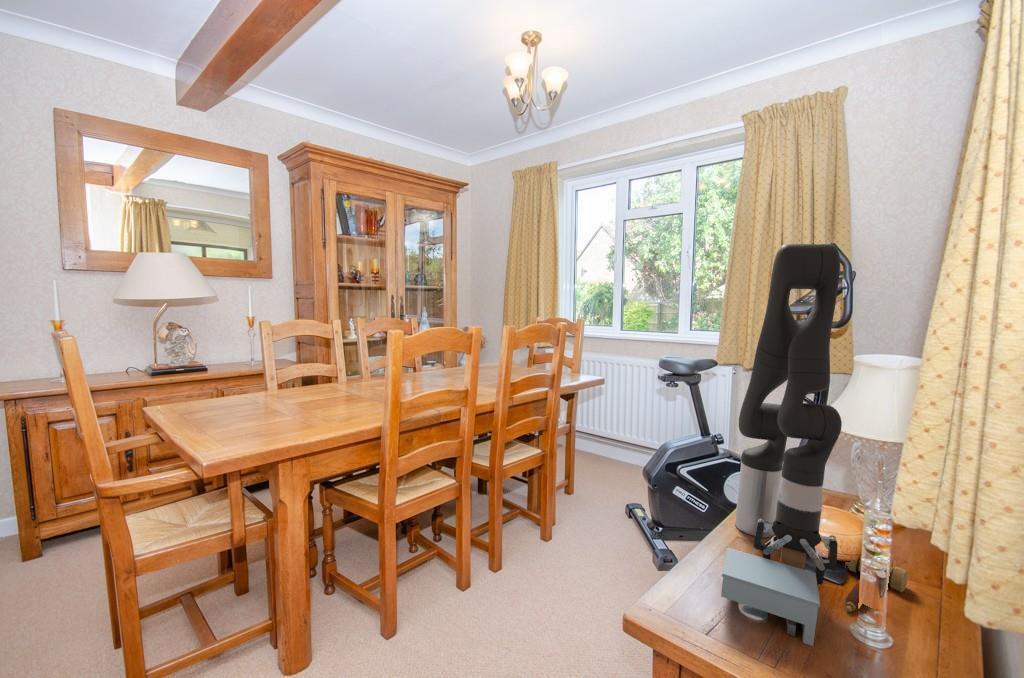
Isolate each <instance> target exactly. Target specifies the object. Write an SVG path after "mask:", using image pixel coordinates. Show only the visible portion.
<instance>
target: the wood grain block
mask: <svg viewBox="0 0 1024 678" xmlns="http://www.w3.org/2000/svg"><path fill="white" fill-rule="evenodd" d="M780 552H781V553H780V558H779V559H780V560H779V563H783V564H786V565H790V566H793V567H797V568H800V569H804V570H806V562H807V555H808V553H807V552H803V551H799V550H796V549H792V548H788V547H785V546H782V547H781V551H780ZM785 619H786V618H785ZM796 628H797V622H795V621H792V620H789V619H786V634H787V635H790V636H793V637H796V630H797V629H796Z"/></svg>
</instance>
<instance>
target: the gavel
mask: <svg viewBox="0 0 1024 678" xmlns="http://www.w3.org/2000/svg"><path fill="white" fill-rule="evenodd" d="M846 565H847V566H848V568H849V570H848V571H851V572H852V573H855V574H857V573H860V572H859V566H860V557H858V559H857V560H855V561H850V562H846V561H845V566H846ZM890 567H891V568H890V576H889V584H888V586H890V588H891V589H893V590H896V591H897V592H900V593H904V592H905V590H906V587H907V583H908V579H909V577H908V576H909V572H908V571H907V570H906V569H903V568H901V567H899V566H895V567H892V566H890ZM858 603H859V580H858V581H857V582H856V583H855V585H854V586H853V588H852V589H851V590H850V592H849V593H848V594H847V596H846V598H845V610H846V611H847V613H851V612H855V611H857V610H859V609H858Z"/></svg>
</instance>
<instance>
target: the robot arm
mask: <svg viewBox="0 0 1024 678" xmlns="http://www.w3.org/2000/svg"><path fill="white" fill-rule="evenodd" d="M840 275H841V257H840V253H839V250H838V248H837V247H836V246H835V245H834V244H830V243H829V244H828V243H788V244H784V245H781V246H780V247H779V249H778V250H777V252H776V254H775V257H774V261H773V266H772V270H771V277H770V278H771V279H770V285H769V290H768V299H767V305H766V311H765V314H764V317H763V318H764V319H763V323H762V326H761V330H760V334H759V337H758V341H757V345H756V350H755V355H754V360H753V367H752V371H751V375H750V380H749V384H748V386H747V389H746V393H745V396H744V398H743V402H742V404H741V408H740V411H739V417H738V429H739V432H740V434H741V435H742V436H744V437H745V438H750V439H753V440H754V439H755V440H756V439H758V440H763V441H765V442H764V443H763V444H759V445H758V446H757V445H756V446H754V447H748V448H746V449H744V450H743V451H742V453H741V461H740V472H739V482H738V488H737V489H738V490H737V491H738V492H737V499H736V500H737V501H736V510H735V517H734V518H735V520H734V526H735V527H736V528H737V529H738V530H740V531H741V532H743V533H746V534H747V535H750V536H753V537H754V538H753V539H754V541H753V548H754V549H755V550H759V551H760V552H761V553H762V558H766V559H769V560H771V556H772V553H774V551H778V550H779V549H780V548H782V546H785V547H788V548H792V549H796V550H799V551H803V552H806V553H807V555H808V556H809V558H810V559H811V561H813V563H814V564H815V565H814V571H813V572H814V573H816V579H817V586H818V587H819V585H820V586H822V585H823V583H824V578H825V577H824V576H825V571H827V570H831V571H836V570H837V566H838V565H837V563H838V540H837V537H836V536H835V535H833V534H831V535H829V536H826V535H823V534H822V535H821V534H820V526H821V518H822V517H821V516H822V507H823V505H824V500H823V499H824V479H825V472H826V471H825V470H826V469H825V468H826V465H827V462H828V461H829V458H830V455H831V453H832V451H833V449H834V447H835V446H836V445H835V444H836V443H837V441H838V439H839V437H840V435H841V431H842V427H843V425H842V423H843V422H842V418H841V415H840V413H839V411H838V410H837V409H836V408H835V407H834V406H831V405H828V404H822V403H821V404H820V403H806V402H805V403H804V401H805V398H806V397H807V395H808V394H810V393H817V392H823V391H824V392H825V391H826V390H828V389H829V387H830V385H831V383H830V382H831V381H830V380H831V378H830V374H831V369H830V368H831V367H830V364H831V363H830V361H831V360H830V353H831V352H830V351H831V349H830V347H831V336H832V329H833V328H832V327H833V322H834V318H835V317H834V316H835V311H836V310H835V309H836V303H837V295H838V289H839V283H840ZM792 290H815V297H814V301H813V302H814V303H813V307H812V308H811V311H810V313H809V314H808V316H807V318H806V319H805V320H804V322H803V323H802V325H801V326H800V325H799V324H798V322H797V321H796V320H797V319H796V318H795V317H794V314H793V313H792V310H791V306H790V303H789V299H790V298H789V297H790V293H791V291H792ZM784 383H786V386H785V391H784V394H783V398H782V401H781V404H777V403H769V402H768V403H766V402H764V401H765V400H766V398H767V397H768V395H771V393H772V392H773V391H775V390H776V389H778V388H779V387H780V386H782V385H783V384H784ZM788 438H792V439H798V440H799V439H801V440H808V441H807V443H806V444H805V445H802V446H797V447H791V448H787V449H786V447H787V442H788ZM763 538H771V539H770V540H768V541H767V542H766V543H764V542H763V541H762V539H763ZM820 543H823V544H824V547H825V548H826V549H827V550H828V551H827V553H828V554H827V559H823V558H822V556H821V555H820V553H819V551H818V549H817V547H816V546H818V545H819V544H820Z"/></svg>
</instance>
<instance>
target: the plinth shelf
mask: <svg viewBox="0 0 1024 678" xmlns="http://www.w3.org/2000/svg"><path fill="white" fill-rule="evenodd" d="M721 573H722V574H721V577H722V583H721V594H720V597H722V598H725V599H728V600H731V601H733V602H736V603H738V604H739V603H742V604H745V605H748V606H751V607H754V608H757V609H760V610H762V611H765V612H768V614H769V613H770V614H771V615H774V616H775V615H776V616H777V617H780V618H784V619H789V620H792V621H795V622H796V623H798V624H801V634H802V635H801V636H802V643H803V644H806V645H808V646H811V647H814V641H815V634H816V627H817V619H818V611H819V608H820V607H821V602H820V601H821V600H820V594H819V588H818V587H819V585H818V586H817V579H816V573H814V571H812V570H811V571H810V570H806V569H805V570H804V569H800V568H797V567H793V566H790V565H786V564H783V563H780V561H775V560H772V559H770V560H769V559H766V558H763V556H759V555H755V554H751V553H748V552H744V551H740V550H737V549H733V548H731V547H727V548H726V552H725V556H724V562H723V567H722V572H721Z"/></svg>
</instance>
